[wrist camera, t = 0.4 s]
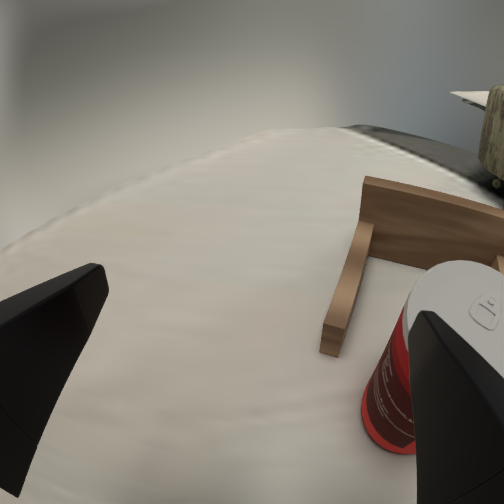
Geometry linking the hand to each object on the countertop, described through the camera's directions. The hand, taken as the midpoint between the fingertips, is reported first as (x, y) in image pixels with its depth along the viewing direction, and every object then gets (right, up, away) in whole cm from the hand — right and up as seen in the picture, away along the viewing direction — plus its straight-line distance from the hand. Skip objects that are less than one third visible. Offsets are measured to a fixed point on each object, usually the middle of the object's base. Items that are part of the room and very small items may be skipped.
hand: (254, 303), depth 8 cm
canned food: (+11, -10, +10) cm, 18 cm away
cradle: (+15, -4, +15) cm, 22 cm away
